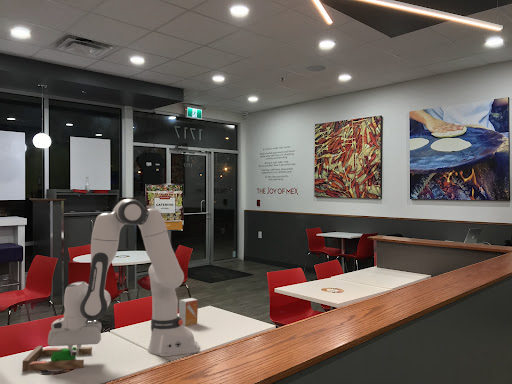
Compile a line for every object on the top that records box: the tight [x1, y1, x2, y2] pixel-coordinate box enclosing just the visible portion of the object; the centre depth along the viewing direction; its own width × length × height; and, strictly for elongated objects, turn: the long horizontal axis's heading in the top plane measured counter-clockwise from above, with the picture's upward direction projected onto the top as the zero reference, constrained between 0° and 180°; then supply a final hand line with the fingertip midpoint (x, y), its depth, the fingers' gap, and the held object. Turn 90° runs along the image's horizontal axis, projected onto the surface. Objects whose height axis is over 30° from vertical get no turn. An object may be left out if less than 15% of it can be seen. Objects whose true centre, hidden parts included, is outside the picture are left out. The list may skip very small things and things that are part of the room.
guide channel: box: [21, 345, 93, 372], centre depth 171 cm, size 22×17×4 cm
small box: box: [178, 297, 199, 327], centre depth 226 cm, size 8×6×13 cm
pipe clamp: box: [50, 346, 77, 361], centre depth 170 cm, size 11×4×5 cm, turn 155°
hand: (74, 355), depth 172 cm, fingers closed
